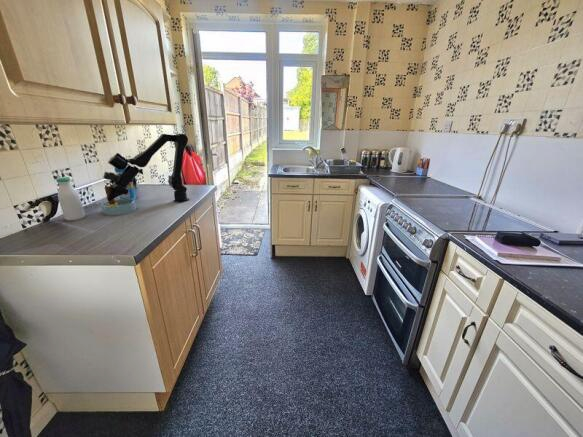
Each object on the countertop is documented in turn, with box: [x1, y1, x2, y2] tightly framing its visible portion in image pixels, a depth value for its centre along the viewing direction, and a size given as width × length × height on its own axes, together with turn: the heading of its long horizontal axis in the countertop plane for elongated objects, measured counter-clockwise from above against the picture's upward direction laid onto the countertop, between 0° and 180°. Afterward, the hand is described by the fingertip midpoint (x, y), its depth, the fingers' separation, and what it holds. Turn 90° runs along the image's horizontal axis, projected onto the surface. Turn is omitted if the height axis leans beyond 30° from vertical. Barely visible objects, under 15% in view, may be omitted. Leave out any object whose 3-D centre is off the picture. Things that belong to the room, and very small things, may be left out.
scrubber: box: [104, 185, 118, 206], centre depth 127 cm, size 4×4×13 cm
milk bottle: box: [56, 176, 86, 221], centre depth 116 cm, size 8×8×20 cm
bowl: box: [100, 198, 137, 216], centre depth 130 cm, size 15×15×5 cm
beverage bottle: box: [113, 165, 137, 200], centre depth 148 cm, size 8×8×20 cm
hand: (107, 199), depth 126 cm, fingers closed on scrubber, 3 cm apart
